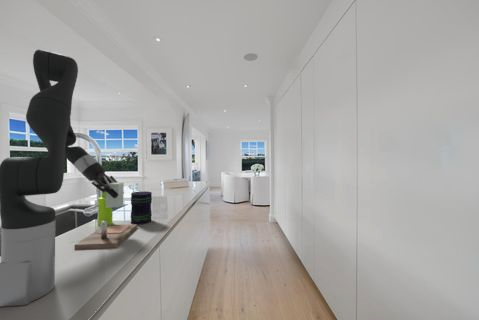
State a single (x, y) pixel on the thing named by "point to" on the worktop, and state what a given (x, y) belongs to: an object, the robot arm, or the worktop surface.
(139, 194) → the dark blue ridged cylinder
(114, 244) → the walnut board
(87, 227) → the worktop surface
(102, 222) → the steel post
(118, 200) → the pale mint tall block
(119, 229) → the terracotta pad
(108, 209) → the lime green stepped cylinder
